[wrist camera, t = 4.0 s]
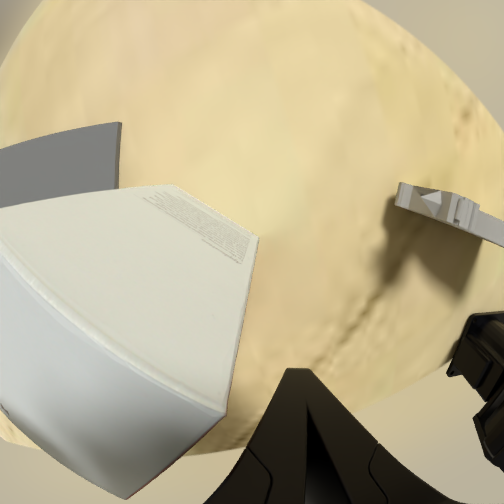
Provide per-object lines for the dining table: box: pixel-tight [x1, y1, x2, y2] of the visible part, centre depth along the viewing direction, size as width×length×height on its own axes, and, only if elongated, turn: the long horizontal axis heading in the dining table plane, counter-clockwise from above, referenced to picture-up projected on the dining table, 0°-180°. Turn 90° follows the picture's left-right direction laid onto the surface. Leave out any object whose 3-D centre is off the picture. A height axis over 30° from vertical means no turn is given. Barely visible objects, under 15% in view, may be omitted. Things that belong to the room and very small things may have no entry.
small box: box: [0, 184, 259, 500], centre depth 10 cm, size 8×6×13 cm
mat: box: [0, 122, 122, 208], centre depth 17 cm, size 18×18×1 cm
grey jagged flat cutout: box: [394, 182, 504, 248], centre depth 12 cm, size 6×1×10 cm
